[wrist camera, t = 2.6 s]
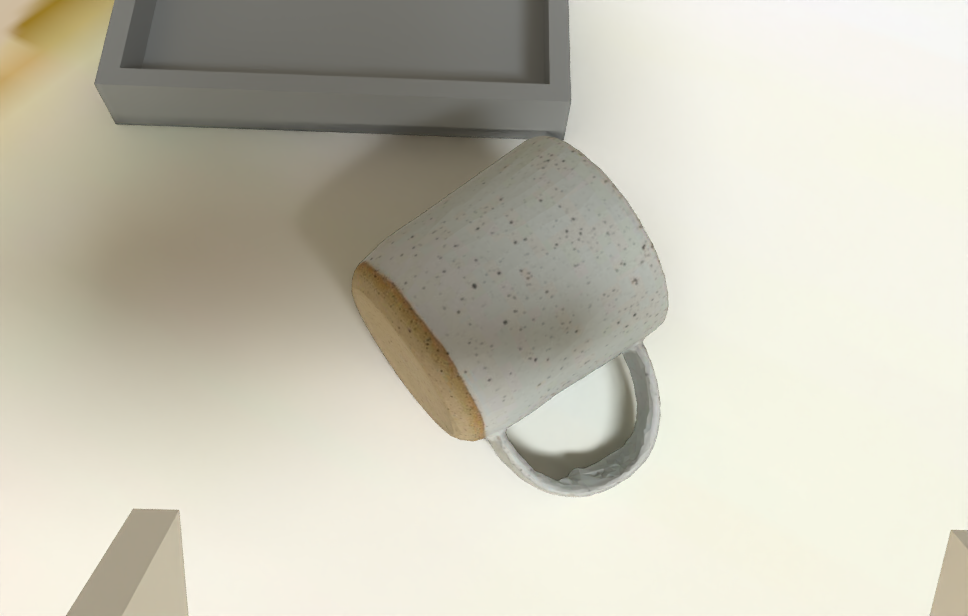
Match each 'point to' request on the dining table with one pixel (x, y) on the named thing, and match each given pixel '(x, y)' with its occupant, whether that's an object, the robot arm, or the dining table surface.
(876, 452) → the dining table surface
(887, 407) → the dining table surface
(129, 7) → the tray
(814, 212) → the dining table surface
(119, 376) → the dining table surface
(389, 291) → the ceramic mug
